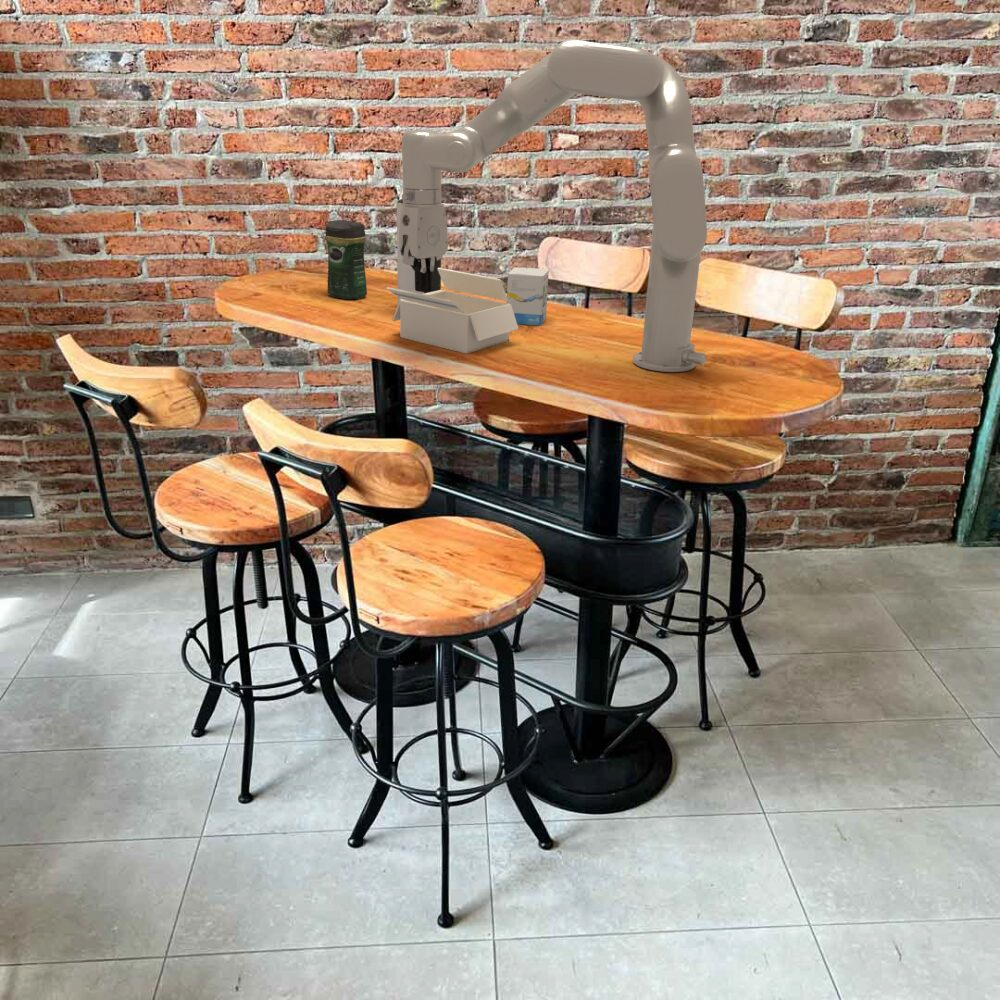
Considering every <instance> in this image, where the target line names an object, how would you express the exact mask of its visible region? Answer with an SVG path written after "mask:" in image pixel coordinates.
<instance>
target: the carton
mask: <svg viewBox="0 0 1000 1000" xmlns="http://www.w3.org/2000/svg"><path fill="white" fill-rule="evenodd" d="M424 295H428V296H433V297H438V298H443V299H447V300H451V301H452V302H454V303H455V304H457V305H458V306H459V307H461V308H462V309H463V310H465V313H464V312H459V311H455V310H450V309H445V308H441V307H436V306H432V305H427V304H422V303H418V302H413V301H409V300H404V299H400V300H399V303H398V302H397V306H396V309H395V312H394V314H393V317H392V322H396V321H400V322H399V324H400V325H399V326H400V327H399V328H400V330H399V331H400V335H399V336H400V338H401V339H405V340H409V341H413V342H417V343H422V344H424V345H425V344H426V345H428V346H432V347H433V346H435V347H438V348H442V349H447V350H450V351H455V352H458V353H461V354H466V355H467V354H470V353H474V352H476V351H481V350H483V349H487V348H490V347H493V346H496V345H499V344H503V343H506V342H509V341H510V332H513V331H516V330H519V324H517V322H516V319H515V316H514V312H513V309H512V306H511V304H507V303H506V302H502V301H498V300H497V301H496V300H492V299H487V298H482V297H479V296H478V297H477V296H473V295H468V294H467V295H466V294H462V293H459V292H453V291H450V290H449V291H447V290H443V289H441V290H438V291H434V292H429V293H425V294H424Z"/></svg>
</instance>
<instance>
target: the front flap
mask: <svg viewBox="0 0 1000 1000" xmlns="http://www.w3.org/2000/svg"><path fill="white" fill-rule="evenodd" d="M386 290H388V291H389V292H391V294H393V295H394V296H397V298H398V297H400V298H401V299H404V300H409V301H413V302H418V303H422V304H427V305H432V306H436V307H441V308H445V309H450V310H455V311H459V312H464V313H465V310H463V309H462V308H461V307H459V306H458V305H457V304H455V303H454V302H452V301H451V300H447V299H443V298H438V297H433V296H428V295H424V294H419V293H414V292H409V291H405V290H400V289H398V288H394V287H390V286H386Z"/></svg>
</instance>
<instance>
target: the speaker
mask: <svg viewBox="0 0 1000 1000" xmlns="http://www.w3.org/2000/svg"><path fill="white" fill-rule="evenodd" d="M402 206H403V199H402V198H400V199H398V200H396V245H397V246H396V251H397V253H396V255H397V258H396V260H397V266H396V267H397V289H400V290H405V291H409V292H414V293H419V294H425V292H419V291H416V290H415V271H413V270H412V267H411V266H410V265H407V264H403V256H402V255H401V253H400V246H399V231H400V217H401V210H402ZM418 261H419V260H418ZM438 268H442V258H441V259H439V260H438V261H436V263H435V264H434V270H433V271H431V272H432V291H431V292H434V291H438V290H442V279H441V277H440V274H439V271H438ZM426 293H429V292H426ZM400 299H401V298H400V297H398V296H397V304H398V303H399V300H400Z"/></svg>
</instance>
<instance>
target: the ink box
mask: <svg viewBox="0 0 1000 1000" xmlns="http://www.w3.org/2000/svg"><path fill="white" fill-rule="evenodd" d="M549 274H550V273H549V269H544V268H536V267H525V266H524V267H517V266H515V267H513V268H512V269H511V270H510V271H509V272H508V273H507V283H506V285H507V286H506V296H507V299H508V300H507V301H506V302H505V303H507V304H511V306H512V309H513V312H514V316H515V319H516V322H517V325H528V326H539V327H540V326H542V324H543V323H544V322H545V320H546V318H547V307H548V306H547V305H548V290H549V289H548V286H549Z"/></svg>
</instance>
